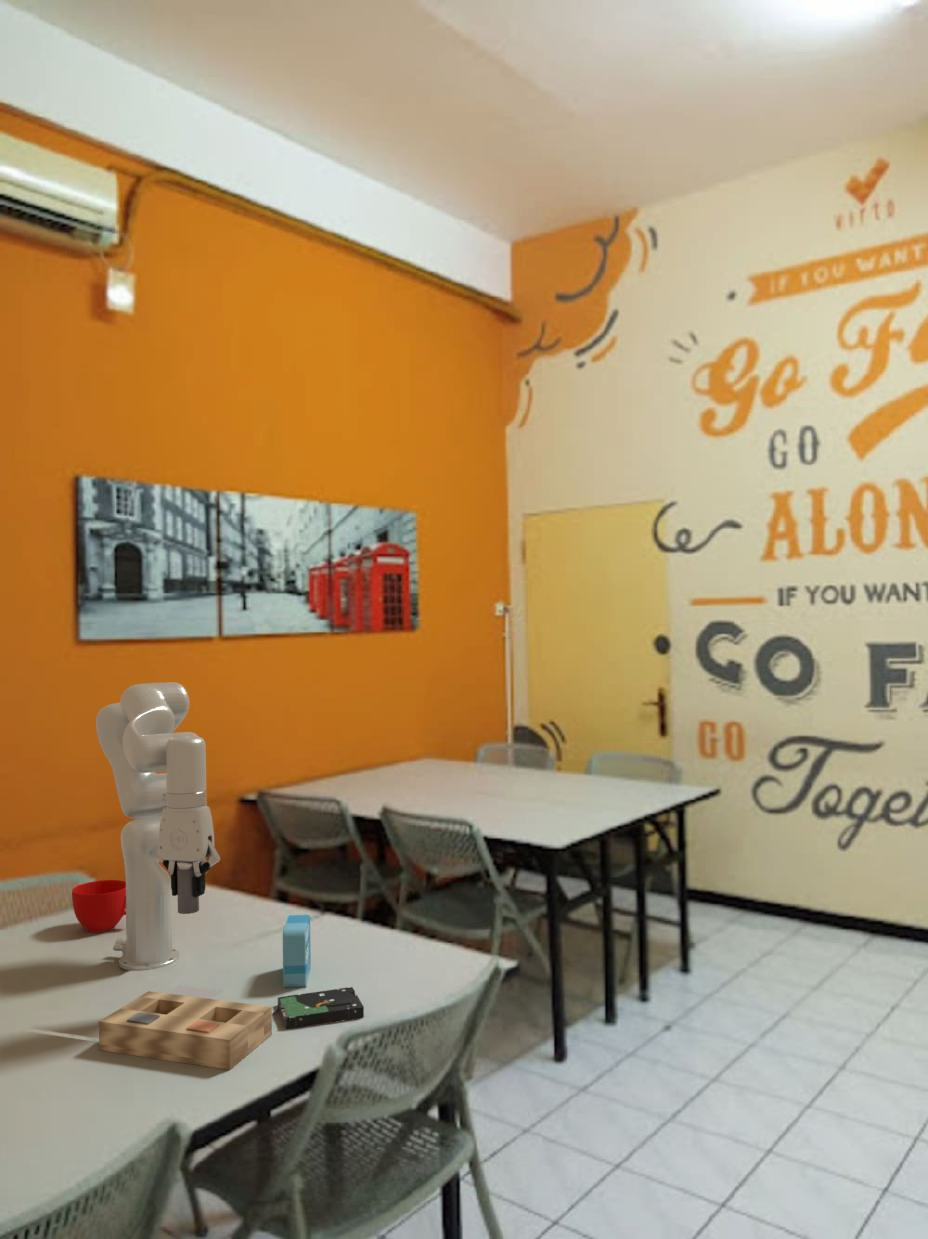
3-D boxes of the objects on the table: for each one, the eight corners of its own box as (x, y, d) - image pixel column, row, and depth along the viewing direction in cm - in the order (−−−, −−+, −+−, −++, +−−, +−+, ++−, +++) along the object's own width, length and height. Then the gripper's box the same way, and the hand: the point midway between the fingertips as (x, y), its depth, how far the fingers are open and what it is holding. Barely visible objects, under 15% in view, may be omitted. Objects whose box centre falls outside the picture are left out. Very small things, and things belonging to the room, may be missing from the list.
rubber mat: (148, 1007, 185) (148, 1004, 185) (179, 988, 194) (179, 985, 194) (193, 1013, 182) (193, 1010, 182) (222, 993, 191) (222, 990, 191)
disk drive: (352, 1000, 189) (276, 1010, 184) (352, 986, 189) (276, 996, 184) (364, 1021, 179) (285, 1032, 174) (364, 1006, 179) (285, 1017, 174)
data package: (305, 990, 193) (305, 930, 193) (283, 991, 192) (282, 931, 192) (310, 968, 205) (310, 912, 205) (289, 969, 204) (288, 913, 204)
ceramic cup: (134, 936, 226) (133, 894, 226) (63, 937, 227) (62, 895, 227) (152, 919, 239) (152, 879, 239) (85, 919, 240) (84, 879, 240)
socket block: (99, 1049, 167) (98, 1019, 167) (149, 1017, 180) (148, 989, 180) (229, 1070, 159) (229, 1038, 159) (271, 1034, 172) (271, 1005, 172)
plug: (173, 913, 185) (172, 861, 185) (185, 907, 188) (184, 856, 189) (191, 914, 183) (190, 862, 184) (203, 908, 187) (202, 857, 187)
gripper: (138, 802, 185) (139, 897, 185) (213, 805, 180) (215, 903, 180) (161, 795, 192) (163, 887, 192) (234, 798, 187) (236, 892, 187)
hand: (188, 893), depth 186 cm, fingers closed on plug, 4 cm apart
